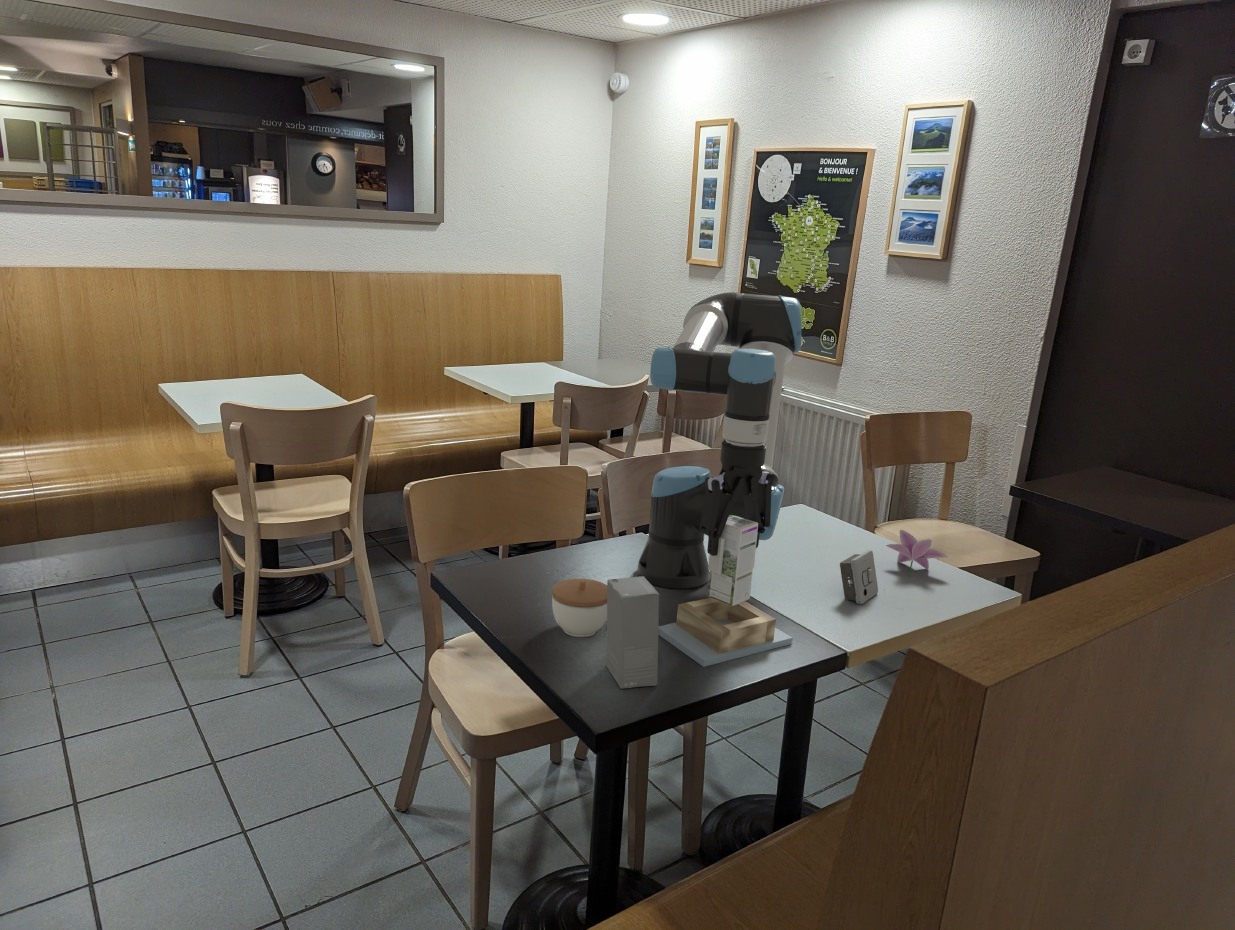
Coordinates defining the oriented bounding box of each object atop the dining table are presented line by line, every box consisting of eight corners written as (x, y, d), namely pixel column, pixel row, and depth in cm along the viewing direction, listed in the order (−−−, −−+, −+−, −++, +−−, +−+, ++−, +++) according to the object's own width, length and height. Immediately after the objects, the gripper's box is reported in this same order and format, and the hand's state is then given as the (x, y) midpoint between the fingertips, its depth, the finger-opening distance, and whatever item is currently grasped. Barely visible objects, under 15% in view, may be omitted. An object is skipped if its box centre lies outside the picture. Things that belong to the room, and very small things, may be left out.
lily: (950, 584, 190) (954, 542, 193) (920, 572, 184) (925, 529, 186) (902, 582, 200) (906, 542, 202) (872, 571, 193) (877, 529, 195)
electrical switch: (860, 606, 173) (862, 562, 171) (836, 601, 176) (838, 557, 174) (878, 594, 180) (880, 551, 178) (855, 589, 183) (857, 547, 181)
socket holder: (703, 666, 144) (706, 638, 142) (656, 632, 155) (658, 606, 154) (791, 643, 154) (795, 617, 153) (741, 613, 165) (744, 588, 164)
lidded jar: (553, 615, 160) (555, 567, 157) (610, 619, 159) (614, 572, 157) (547, 641, 149) (549, 590, 147) (608, 645, 149) (611, 595, 147)
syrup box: (750, 599, 153) (760, 521, 149) (731, 607, 148) (741, 527, 145) (724, 589, 156) (733, 513, 153) (705, 597, 152) (713, 519, 148)
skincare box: (658, 686, 136) (665, 594, 132) (615, 691, 134) (621, 597, 130) (641, 661, 144) (648, 573, 140) (600, 665, 142) (606, 575, 138)
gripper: (712, 451, 137) (699, 584, 143) (802, 442, 147) (787, 567, 153) (684, 440, 143) (673, 569, 149) (772, 433, 153) (759, 553, 159)
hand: (731, 568), depth 151 cm, fingers closed on syrup box, 7 cm apart
